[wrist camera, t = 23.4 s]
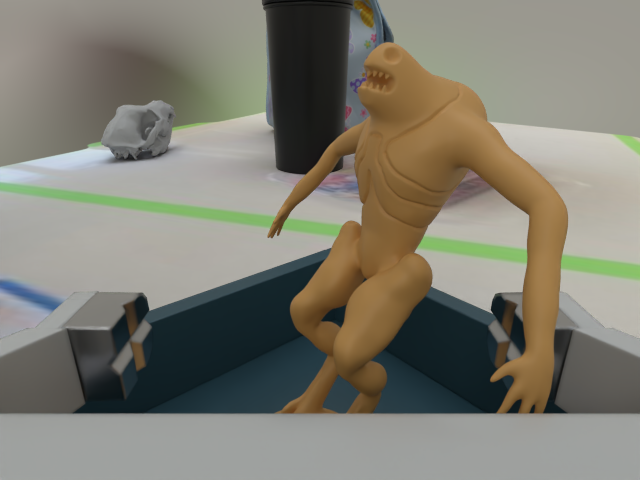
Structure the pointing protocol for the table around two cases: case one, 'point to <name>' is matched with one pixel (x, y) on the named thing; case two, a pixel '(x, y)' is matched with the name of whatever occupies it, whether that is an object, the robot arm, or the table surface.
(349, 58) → the lunch bag
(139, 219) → the table surface
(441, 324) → the teal square tray
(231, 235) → the table surface
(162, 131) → the skull
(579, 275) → the table surface
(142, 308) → the robot arm
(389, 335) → the figurine
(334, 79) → the water bottle
